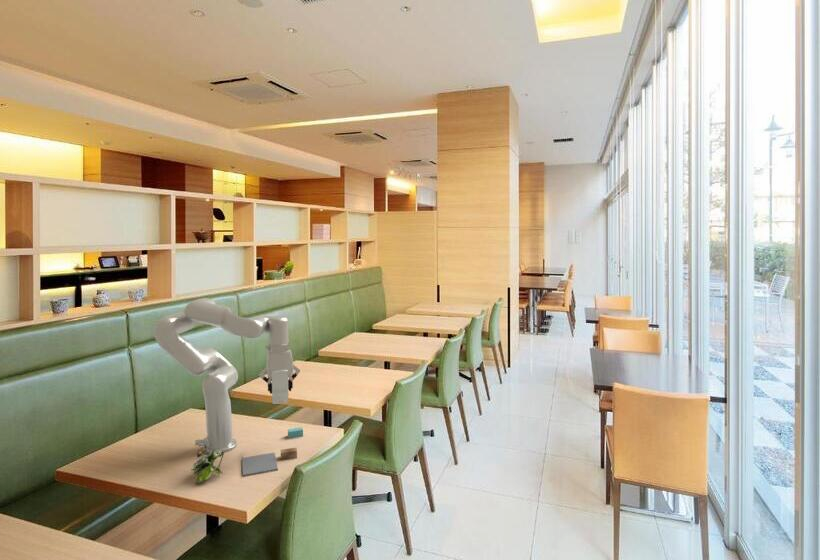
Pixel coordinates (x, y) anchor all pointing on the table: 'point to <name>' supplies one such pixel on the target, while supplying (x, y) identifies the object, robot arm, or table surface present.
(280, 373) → the small box
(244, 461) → the charcoal mat
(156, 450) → the table surface
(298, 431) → the teal block
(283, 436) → the table surface
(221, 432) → the robot arm
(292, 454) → the walnut block
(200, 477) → the passion flower
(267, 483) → the table surface
